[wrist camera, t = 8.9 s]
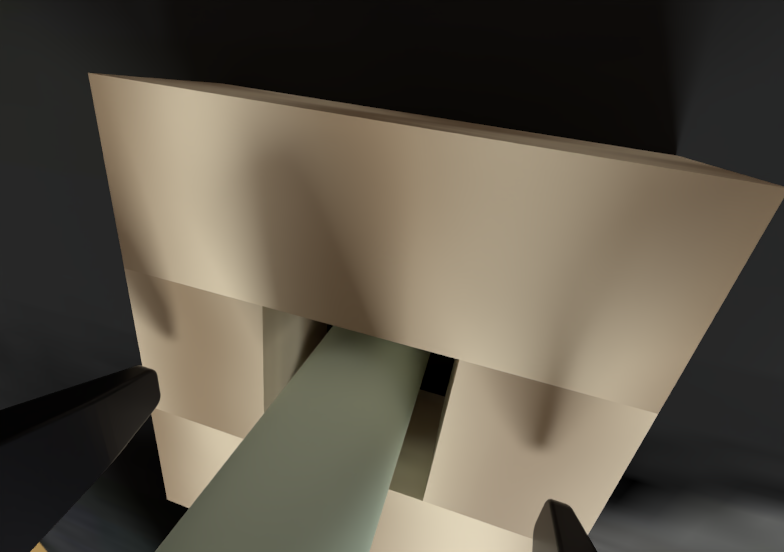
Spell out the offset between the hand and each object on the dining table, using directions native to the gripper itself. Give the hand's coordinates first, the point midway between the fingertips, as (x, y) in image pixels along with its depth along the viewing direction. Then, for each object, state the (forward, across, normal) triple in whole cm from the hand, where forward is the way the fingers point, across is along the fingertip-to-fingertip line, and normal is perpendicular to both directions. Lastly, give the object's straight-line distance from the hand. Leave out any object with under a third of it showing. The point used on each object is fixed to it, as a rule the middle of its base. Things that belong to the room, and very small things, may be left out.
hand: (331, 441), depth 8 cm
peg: (+5, 0, 0) cm, 5 cm away
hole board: (+5, 0, 0) cm, 5 cm away
